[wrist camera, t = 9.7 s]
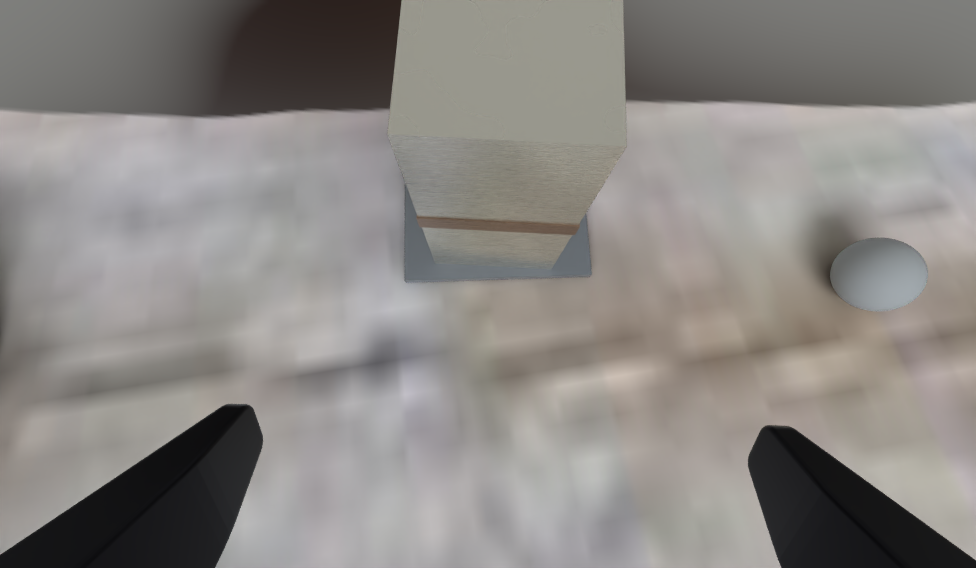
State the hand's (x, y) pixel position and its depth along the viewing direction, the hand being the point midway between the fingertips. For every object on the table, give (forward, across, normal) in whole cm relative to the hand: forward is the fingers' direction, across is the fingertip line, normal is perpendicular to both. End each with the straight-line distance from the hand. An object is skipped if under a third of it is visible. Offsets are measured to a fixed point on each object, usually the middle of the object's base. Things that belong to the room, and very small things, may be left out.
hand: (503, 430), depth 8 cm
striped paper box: (+13, 0, +1) cm, 13 cm away
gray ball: (+11, -15, +2) cm, 19 cm away
